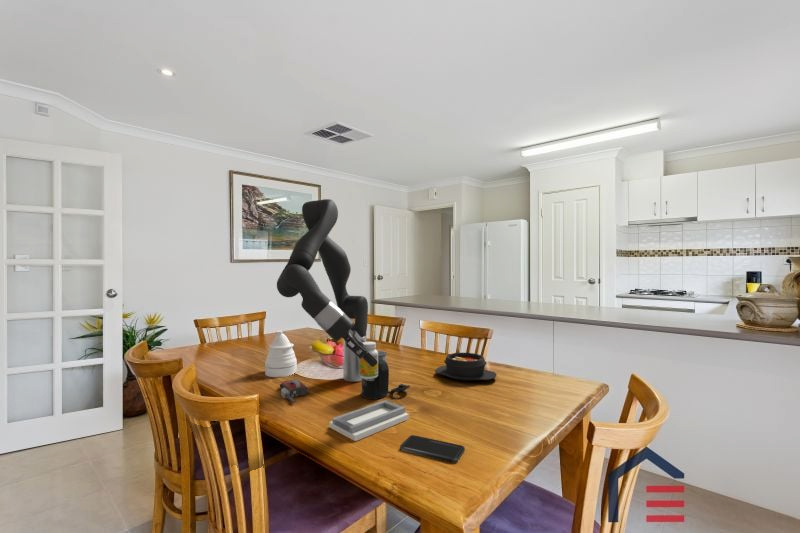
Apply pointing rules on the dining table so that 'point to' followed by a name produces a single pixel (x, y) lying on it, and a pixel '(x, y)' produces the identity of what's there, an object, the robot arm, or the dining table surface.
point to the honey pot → (280, 357)
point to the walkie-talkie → (292, 389)
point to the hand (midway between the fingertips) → (375, 361)
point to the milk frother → (379, 381)
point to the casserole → (465, 367)
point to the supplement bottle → (365, 368)
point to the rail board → (369, 420)
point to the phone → (433, 448)
